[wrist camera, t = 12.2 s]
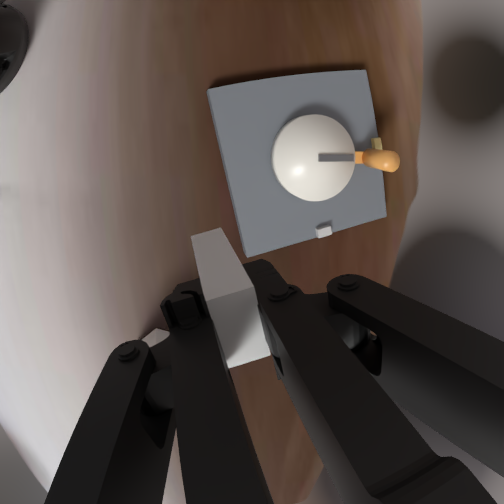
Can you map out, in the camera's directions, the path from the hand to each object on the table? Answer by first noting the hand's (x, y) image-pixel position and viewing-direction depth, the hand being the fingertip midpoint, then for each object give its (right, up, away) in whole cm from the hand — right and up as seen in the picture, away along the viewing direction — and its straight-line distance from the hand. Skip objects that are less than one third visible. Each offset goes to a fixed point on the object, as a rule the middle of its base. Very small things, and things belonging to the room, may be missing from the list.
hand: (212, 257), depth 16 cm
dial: (+11, +13, +25) cm, 30 cm away
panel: (+9, +13, +26) cm, 31 cm away
